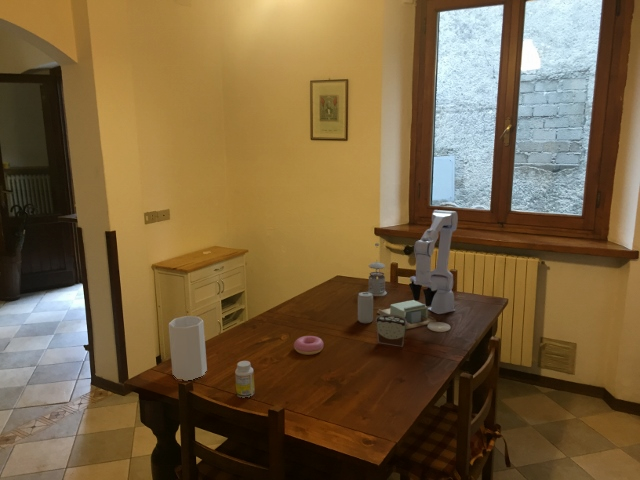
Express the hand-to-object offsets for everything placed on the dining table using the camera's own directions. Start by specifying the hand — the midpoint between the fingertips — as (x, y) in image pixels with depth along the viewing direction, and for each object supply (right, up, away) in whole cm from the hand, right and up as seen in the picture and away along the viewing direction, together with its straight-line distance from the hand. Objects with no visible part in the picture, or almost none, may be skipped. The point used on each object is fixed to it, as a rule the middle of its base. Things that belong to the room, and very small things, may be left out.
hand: (422, 303), depth 209 cm
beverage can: (-22, -9, +9) cm, 25 cm away
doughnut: (-45, -15, -18) cm, 51 cm away
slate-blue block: (-3, -9, +7) cm, 12 cm away
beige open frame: (-5, -8, +12) cm, 15 cm away
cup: (-85, -20, -35) cm, 94 cm away
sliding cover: (-4, -7, +10) cm, 13 cm away
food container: (-14, -13, -12) cm, 23 cm away
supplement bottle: (-64, -22, -49) cm, 84 cm away
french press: (-13, -1, +46) cm, 48 cm away
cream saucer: (+7, -10, 0) cm, 12 cm away
